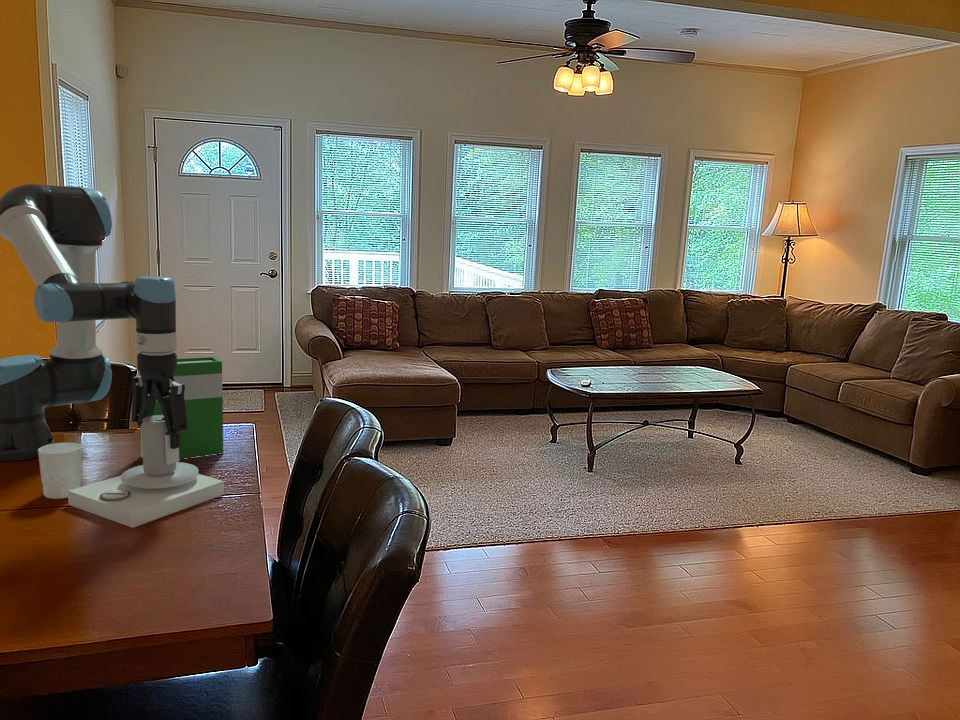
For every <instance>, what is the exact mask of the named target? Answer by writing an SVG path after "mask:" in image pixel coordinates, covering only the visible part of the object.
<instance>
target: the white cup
mask: <svg viewBox="0 0 960 720" xmlns="http://www.w3.org/2000/svg"><path fill="white" fill-rule="evenodd" d="M38 456H39V457H38V463H39V472H40V479H41V484H42V491H43V496H44V497H46V498H47V499H53V500H58V499H59V500H60V499H62V500H63V499H67V498H68V491H69V490H72V489H76V488H79V487H81V481H82V445H81V444H80V443H77V442H58V443H57V442H56V443H55V442H54V444H49V445H46V446H43V447H41V448H39V449H38Z"/></svg>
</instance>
